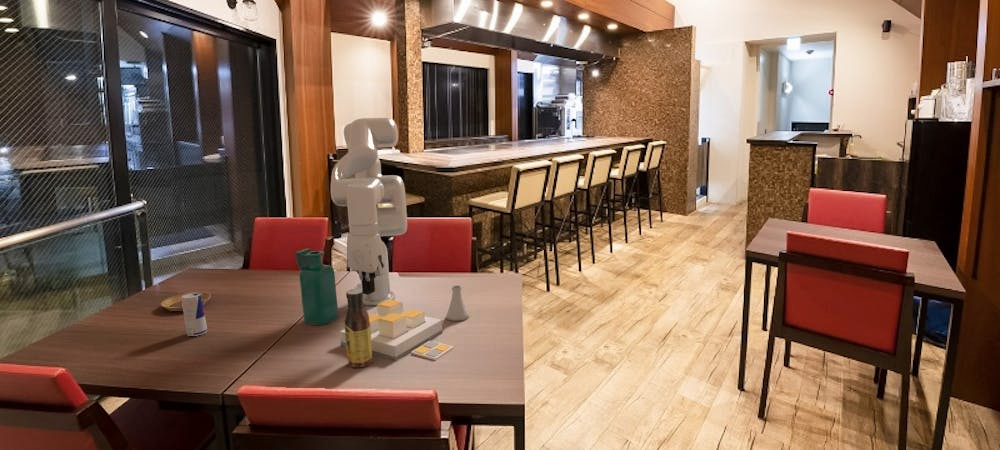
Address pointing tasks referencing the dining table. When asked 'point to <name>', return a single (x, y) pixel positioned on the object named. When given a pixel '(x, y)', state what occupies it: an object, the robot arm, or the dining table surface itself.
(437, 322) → the button board
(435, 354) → the card
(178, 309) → the plant saucer
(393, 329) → the button
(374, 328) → the button
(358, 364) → the sauce bottle
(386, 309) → the button
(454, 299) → the flask
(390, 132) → the robot arm
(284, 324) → the dining table surface
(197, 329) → the energy drink
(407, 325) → the button
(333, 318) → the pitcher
